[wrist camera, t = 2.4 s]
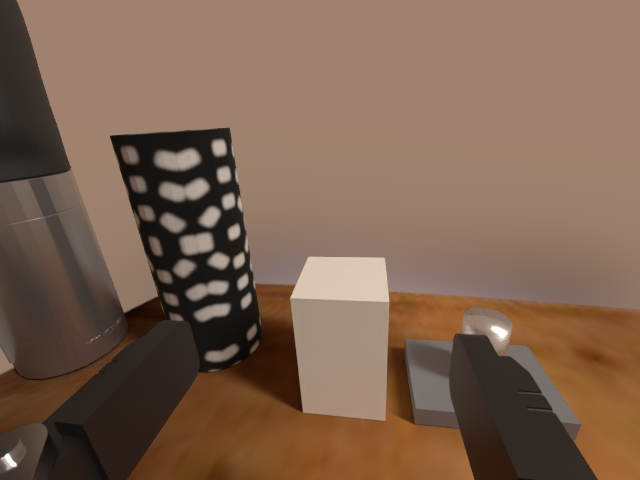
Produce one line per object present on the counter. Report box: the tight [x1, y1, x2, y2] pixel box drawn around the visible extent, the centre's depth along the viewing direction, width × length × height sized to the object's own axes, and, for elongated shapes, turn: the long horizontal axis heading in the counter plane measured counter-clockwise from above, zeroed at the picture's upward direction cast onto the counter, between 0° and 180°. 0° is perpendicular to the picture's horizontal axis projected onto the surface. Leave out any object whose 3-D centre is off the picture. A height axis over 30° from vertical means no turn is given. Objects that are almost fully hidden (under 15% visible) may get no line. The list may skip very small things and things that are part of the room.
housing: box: [290, 257, 389, 421], centre depth 23 cm, size 6×6×10 cm
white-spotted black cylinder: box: [110, 128, 262, 372], centre depth 27 cm, size 8×8×20 cm
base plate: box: [404, 307, 581, 440], centre depth 22 cm, size 10×7×6 cm
